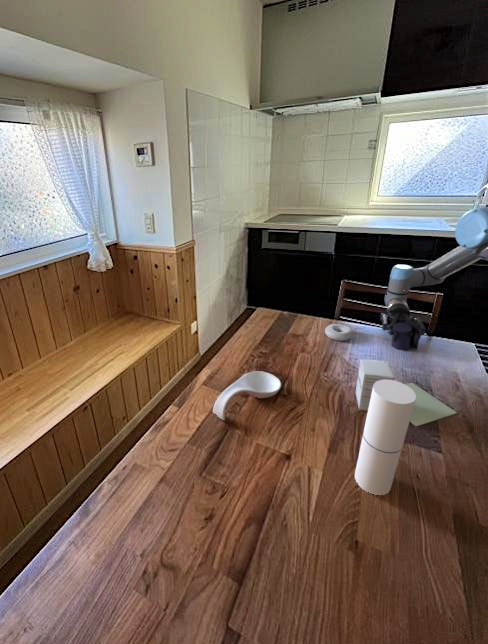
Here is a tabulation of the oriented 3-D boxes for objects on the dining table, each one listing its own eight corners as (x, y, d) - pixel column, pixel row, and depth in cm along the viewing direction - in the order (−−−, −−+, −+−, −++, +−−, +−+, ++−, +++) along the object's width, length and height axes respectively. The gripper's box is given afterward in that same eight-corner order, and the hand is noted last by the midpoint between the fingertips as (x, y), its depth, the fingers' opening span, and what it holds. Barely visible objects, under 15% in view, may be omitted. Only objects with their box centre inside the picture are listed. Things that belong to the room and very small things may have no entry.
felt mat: (456, 413, 91) (457, 412, 91) (416, 426, 88) (416, 425, 88) (411, 383, 104) (412, 382, 103) (374, 393, 100) (374, 393, 100)
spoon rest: (259, 375, 112) (260, 357, 109) (288, 392, 103) (290, 373, 100) (205, 407, 99) (204, 388, 96) (233, 430, 90) (232, 410, 87)
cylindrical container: (349, 481, 75) (367, 392, 65) (361, 461, 79) (380, 375, 69) (384, 502, 70) (409, 409, 60) (395, 479, 75) (420, 389, 64)
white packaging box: (354, 393, 101) (359, 358, 96) (382, 396, 98) (389, 360, 93) (357, 410, 95) (363, 373, 89) (387, 414, 92) (395, 377, 87)
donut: (322, 329, 137) (326, 341, 128) (323, 321, 136) (327, 333, 127) (349, 330, 135) (354, 343, 126) (350, 323, 133) (355, 335, 124)
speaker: (406, 340, 125) (410, 316, 120) (417, 348, 120) (422, 324, 115) (386, 344, 125) (390, 320, 120) (397, 353, 120) (401, 328, 115)
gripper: (423, 323, 132) (436, 353, 113) (370, 316, 139) (374, 344, 120) (428, 305, 129) (442, 334, 110) (373, 300, 136) (377, 326, 117)
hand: (406, 339), depth 115 cm, fingers closed on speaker, 6 cm apart
